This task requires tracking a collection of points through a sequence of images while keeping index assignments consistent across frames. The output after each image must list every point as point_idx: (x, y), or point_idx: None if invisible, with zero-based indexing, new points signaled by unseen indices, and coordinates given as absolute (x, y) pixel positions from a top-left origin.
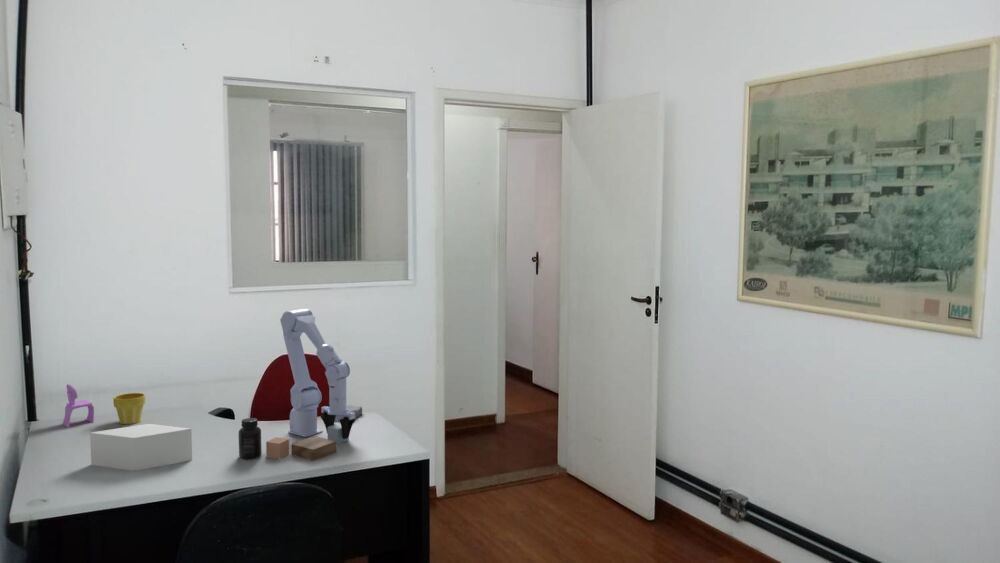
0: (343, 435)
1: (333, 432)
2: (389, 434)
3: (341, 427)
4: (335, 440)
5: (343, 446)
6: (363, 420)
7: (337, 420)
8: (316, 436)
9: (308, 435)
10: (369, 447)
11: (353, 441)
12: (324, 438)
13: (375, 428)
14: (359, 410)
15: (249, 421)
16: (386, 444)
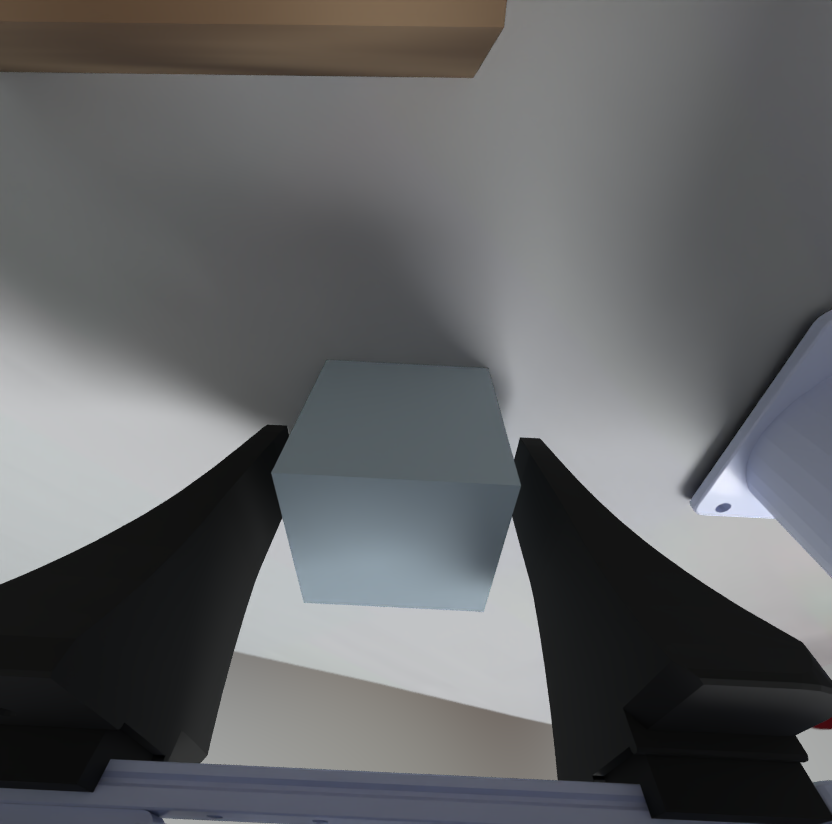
0: (246, 445)
1: (380, 433)
2: None
3: (315, 545)
4: (356, 375)
5: (194, 325)
6: (541, 687)
7: None
8: (438, 17)
9: (797, 358)
10: (20, 431)
11: None
12: (136, 14)
13: (387, 650)
14: None
15: None
16: (40, 527)
